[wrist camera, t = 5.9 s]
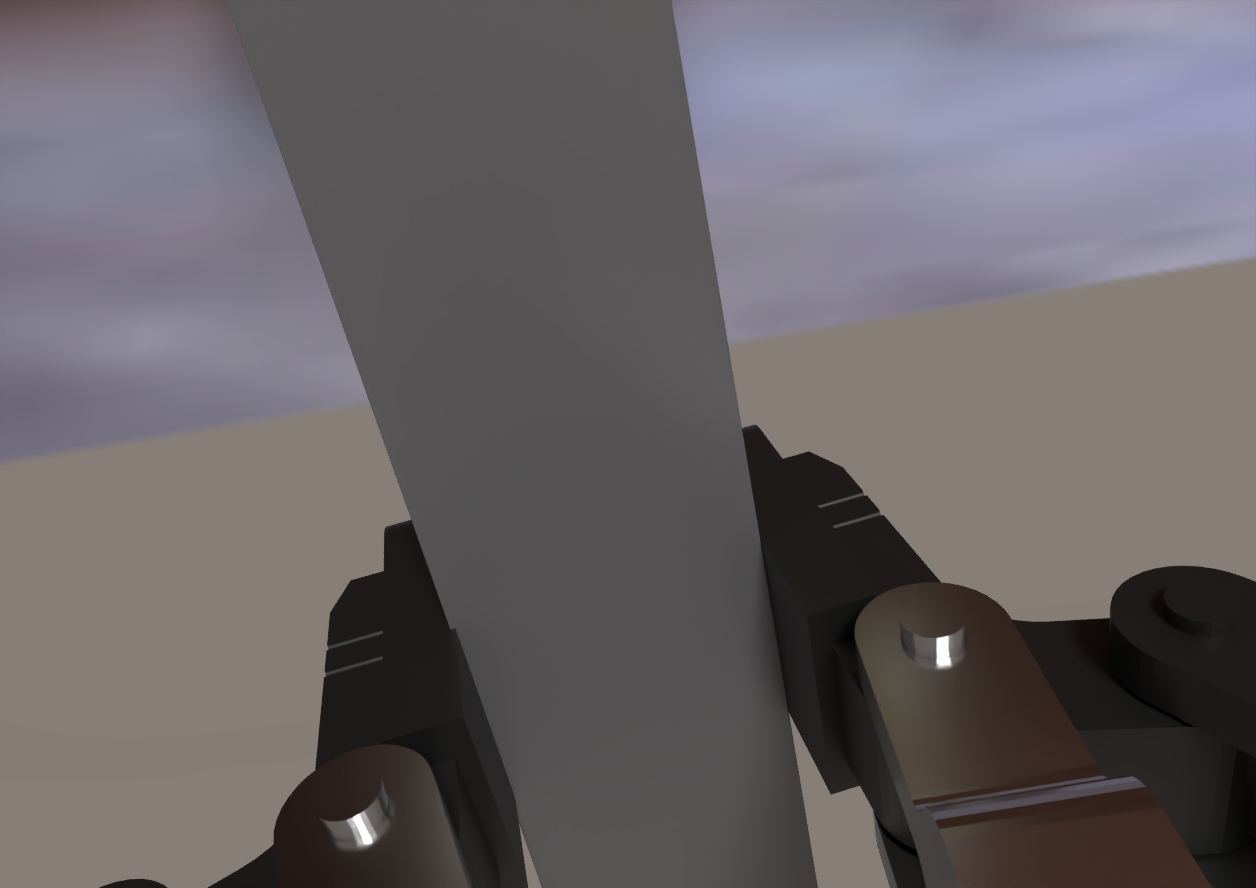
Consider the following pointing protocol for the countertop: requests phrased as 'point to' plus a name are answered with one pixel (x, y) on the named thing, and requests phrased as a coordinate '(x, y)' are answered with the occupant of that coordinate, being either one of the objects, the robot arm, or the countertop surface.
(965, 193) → the countertop surface
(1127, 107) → the countertop surface
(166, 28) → the countertop surface
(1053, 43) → the countertop surface
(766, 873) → the tall gray bar
